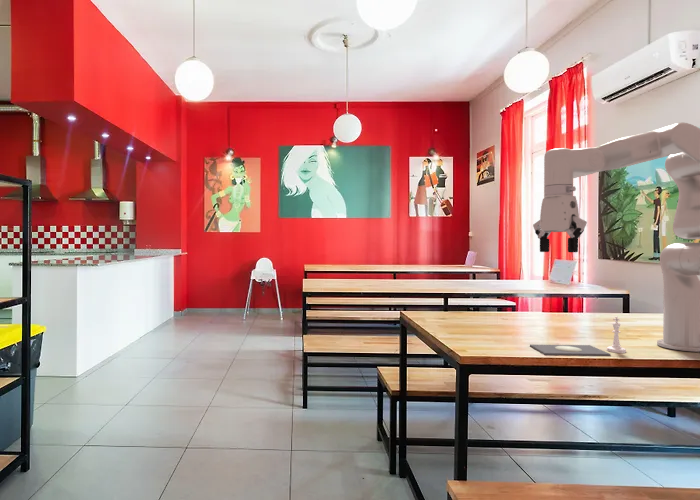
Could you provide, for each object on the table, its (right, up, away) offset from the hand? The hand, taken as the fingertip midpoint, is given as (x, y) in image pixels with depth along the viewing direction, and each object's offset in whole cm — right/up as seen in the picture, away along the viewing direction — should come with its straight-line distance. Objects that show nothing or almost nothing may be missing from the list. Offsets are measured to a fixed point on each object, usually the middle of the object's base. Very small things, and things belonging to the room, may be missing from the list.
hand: (558, 252), depth 125 cm
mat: (+4, -29, +1) cm, 29 cm away
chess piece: (+18, -29, +1) cm, 34 cm away
